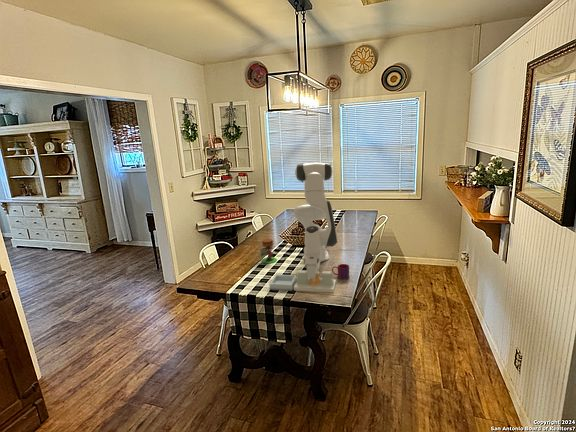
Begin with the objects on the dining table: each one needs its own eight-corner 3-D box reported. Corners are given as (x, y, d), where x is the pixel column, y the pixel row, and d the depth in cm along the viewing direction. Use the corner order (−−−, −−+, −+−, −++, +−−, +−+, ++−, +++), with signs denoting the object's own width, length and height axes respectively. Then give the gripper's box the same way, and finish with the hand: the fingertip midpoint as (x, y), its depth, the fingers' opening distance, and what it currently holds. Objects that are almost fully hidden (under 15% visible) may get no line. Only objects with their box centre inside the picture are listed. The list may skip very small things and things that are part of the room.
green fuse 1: (299, 281, 186) (298, 270, 184) (307, 281, 184) (307, 270, 183) (298, 283, 183) (297, 272, 181) (306, 284, 181) (306, 272, 180)
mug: (348, 279, 188) (348, 268, 187) (331, 278, 192) (331, 267, 190) (350, 274, 194) (349, 264, 193) (333, 273, 198) (333, 263, 196)
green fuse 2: (323, 282, 182) (322, 271, 180) (332, 283, 181) (331, 271, 179) (322, 285, 179) (322, 273, 178) (331, 285, 178) (331, 273, 176)
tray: (276, 279, 195) (275, 274, 194) (297, 280, 191) (296, 275, 191) (269, 289, 182) (269, 284, 182) (292, 290, 179) (291, 285, 178)
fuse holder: (298, 281, 191) (298, 273, 189) (335, 282, 185) (335, 274, 184) (293, 290, 179) (293, 282, 178) (333, 292, 174) (333, 284, 173)
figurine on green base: (280, 257, 231) (278, 237, 228) (274, 264, 219) (272, 243, 216) (264, 256, 234) (262, 237, 231) (258, 263, 223) (256, 242, 219)
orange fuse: (311, 282, 184) (310, 270, 182) (319, 282, 182) (319, 270, 181) (310, 284, 181) (309, 272, 179) (319, 284, 180) (318, 273, 178)
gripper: (311, 249, 188) (312, 271, 192) (304, 262, 169) (305, 286, 172) (322, 249, 187) (323, 271, 190) (316, 263, 168) (317, 287, 171)
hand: (314, 279), depth 181 cm, fingers closed on orange fuse, 3 cm apart
